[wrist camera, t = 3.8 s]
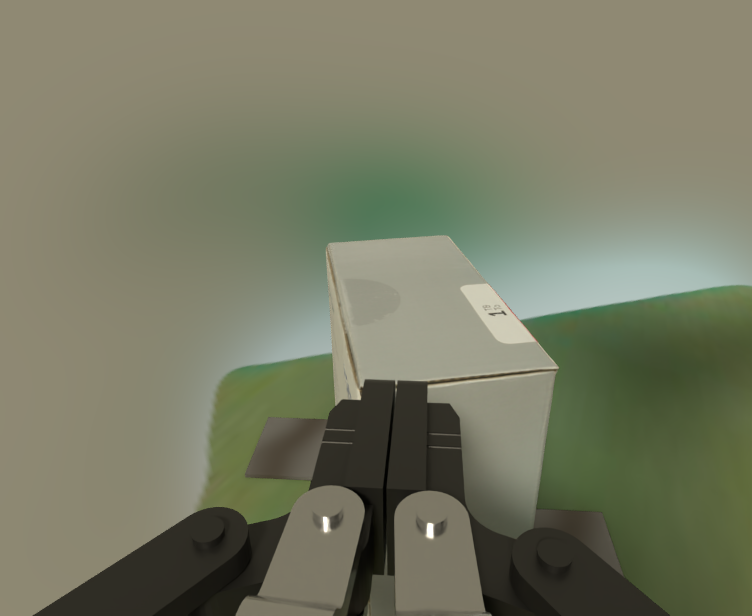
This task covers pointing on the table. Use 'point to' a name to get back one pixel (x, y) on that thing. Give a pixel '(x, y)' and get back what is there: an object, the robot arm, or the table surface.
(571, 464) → the table surface
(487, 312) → the hard drive box
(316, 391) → the table surface
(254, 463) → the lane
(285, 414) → the table surface
